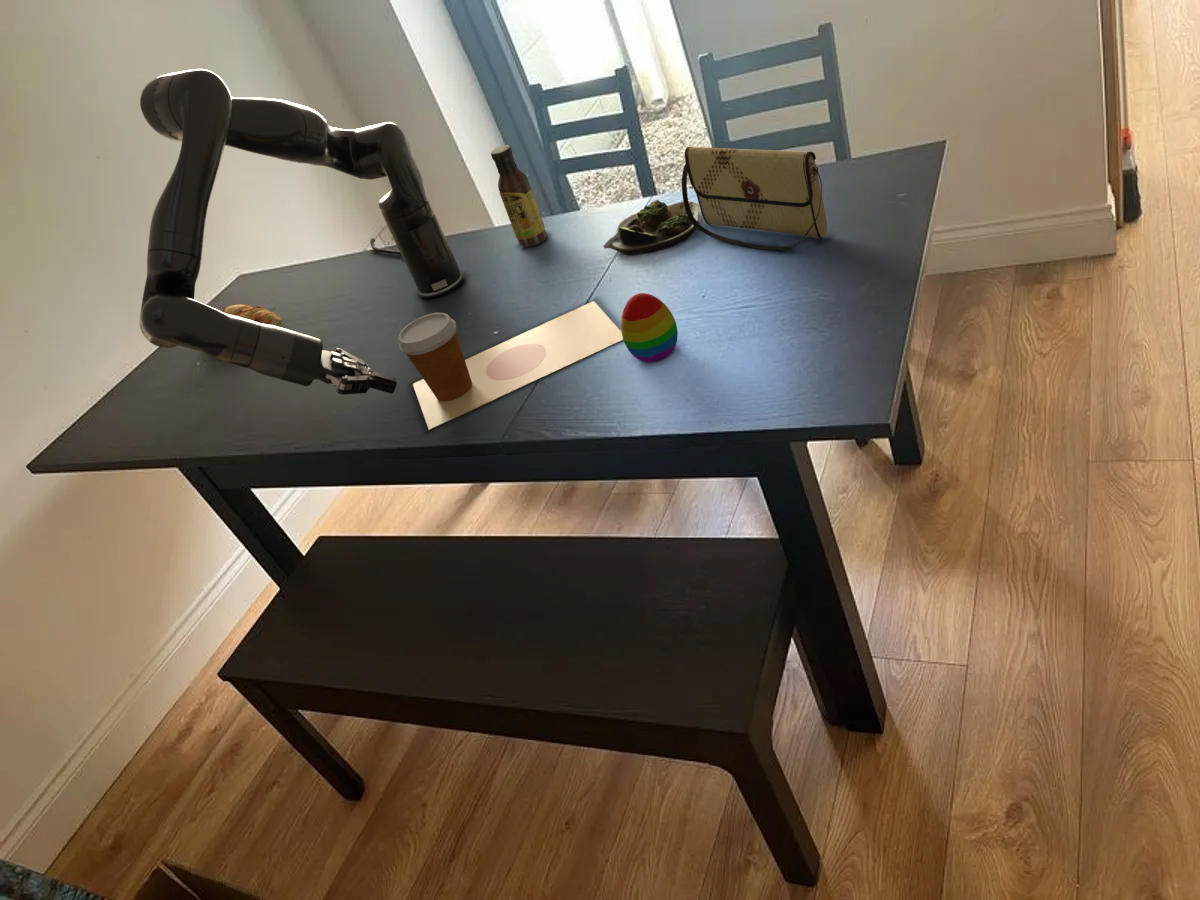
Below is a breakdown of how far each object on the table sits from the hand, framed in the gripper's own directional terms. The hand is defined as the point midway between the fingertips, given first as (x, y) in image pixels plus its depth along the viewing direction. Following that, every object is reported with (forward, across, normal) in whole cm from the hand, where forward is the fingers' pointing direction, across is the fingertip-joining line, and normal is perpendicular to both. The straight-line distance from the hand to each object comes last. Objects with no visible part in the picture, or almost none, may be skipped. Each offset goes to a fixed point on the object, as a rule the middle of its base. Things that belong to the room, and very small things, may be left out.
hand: (394, 386), depth 149 cm
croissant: (-16, +64, +24) cm, 70 cm away
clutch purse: (+50, +5, -43) cm, 66 cm away
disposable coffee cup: (+9, 0, -2) cm, 10 cm away
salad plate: (+42, +24, -34) cm, 59 cm away
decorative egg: (+31, -16, -23) cm, 42 cm away
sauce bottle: (+29, +46, -21) cm, 58 cm away
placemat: (+17, 0, -10) cm, 20 cm away
